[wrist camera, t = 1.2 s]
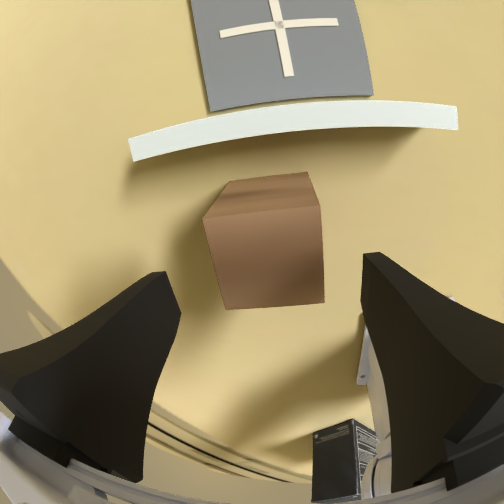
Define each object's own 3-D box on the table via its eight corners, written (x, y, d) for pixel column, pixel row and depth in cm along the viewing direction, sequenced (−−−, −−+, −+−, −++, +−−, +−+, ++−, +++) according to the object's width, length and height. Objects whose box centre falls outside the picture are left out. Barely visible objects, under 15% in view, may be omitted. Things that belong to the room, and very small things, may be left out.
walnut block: (313, 242, 17) (324, 302, 12) (243, 249, 18) (225, 309, 13) (307, 171, 15) (320, 205, 10) (229, 181, 16) (202, 218, 11)
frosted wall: (427, 124, 13) (458, 130, 10) (161, 150, 15) (133, 161, 12) (425, 104, 12) (456, 106, 9) (157, 131, 15) (128, 139, 12)
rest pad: (372, 95, 12) (374, 95, 12) (211, 111, 14) (210, 111, 14) (341, -34, 8) (342, -36, 8) (189, -16, 10) (187, -18, 10)
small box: (308, 432, 30) (307, 504, 21) (353, 417, 27) (359, 494, 18) (346, 449, 33) (348, 507, 24) (384, 436, 30) (391, 496, 21)
